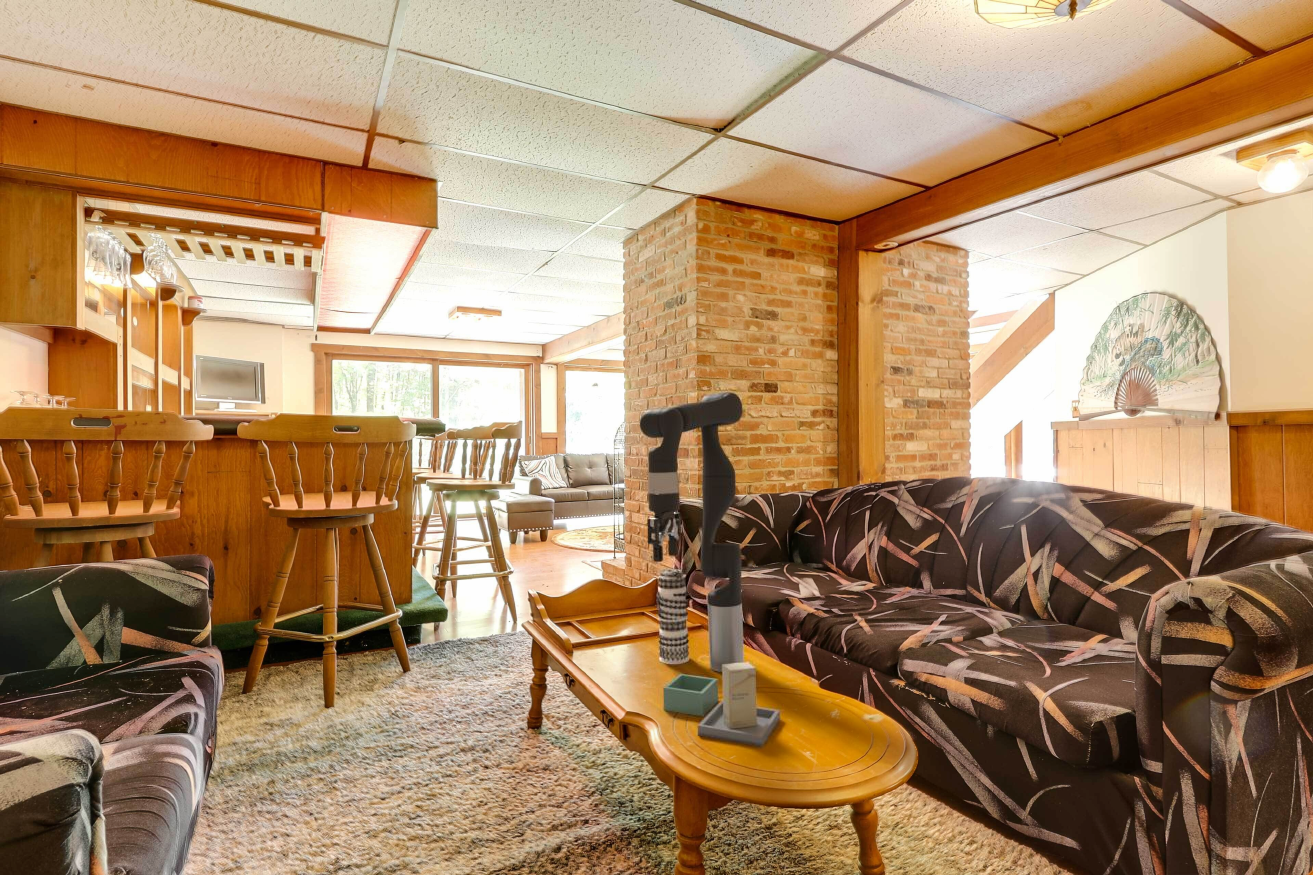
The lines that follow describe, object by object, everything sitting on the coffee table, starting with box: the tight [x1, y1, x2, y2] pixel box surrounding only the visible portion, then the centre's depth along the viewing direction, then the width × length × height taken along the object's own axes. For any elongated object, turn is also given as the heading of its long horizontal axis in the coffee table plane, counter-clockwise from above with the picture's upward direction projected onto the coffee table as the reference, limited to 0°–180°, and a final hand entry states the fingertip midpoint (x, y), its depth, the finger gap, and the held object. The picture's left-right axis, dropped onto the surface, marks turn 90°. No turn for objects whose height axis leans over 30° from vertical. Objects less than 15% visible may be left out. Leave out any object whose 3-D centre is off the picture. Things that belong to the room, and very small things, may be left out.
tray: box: [697, 700, 781, 748], centre depth 133 cm, size 14×14×2 cm
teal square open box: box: [662, 673, 719, 717], centre depth 145 cm, size 10×10×5 cm
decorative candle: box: [656, 568, 690, 665], centre depth 178 cm, size 9×9×25 cm
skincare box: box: [721, 661, 757, 729], centre depth 133 cm, size 6×4×12 cm
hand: (665, 558), depth 151 cm, fingers open, 8 cm apart
